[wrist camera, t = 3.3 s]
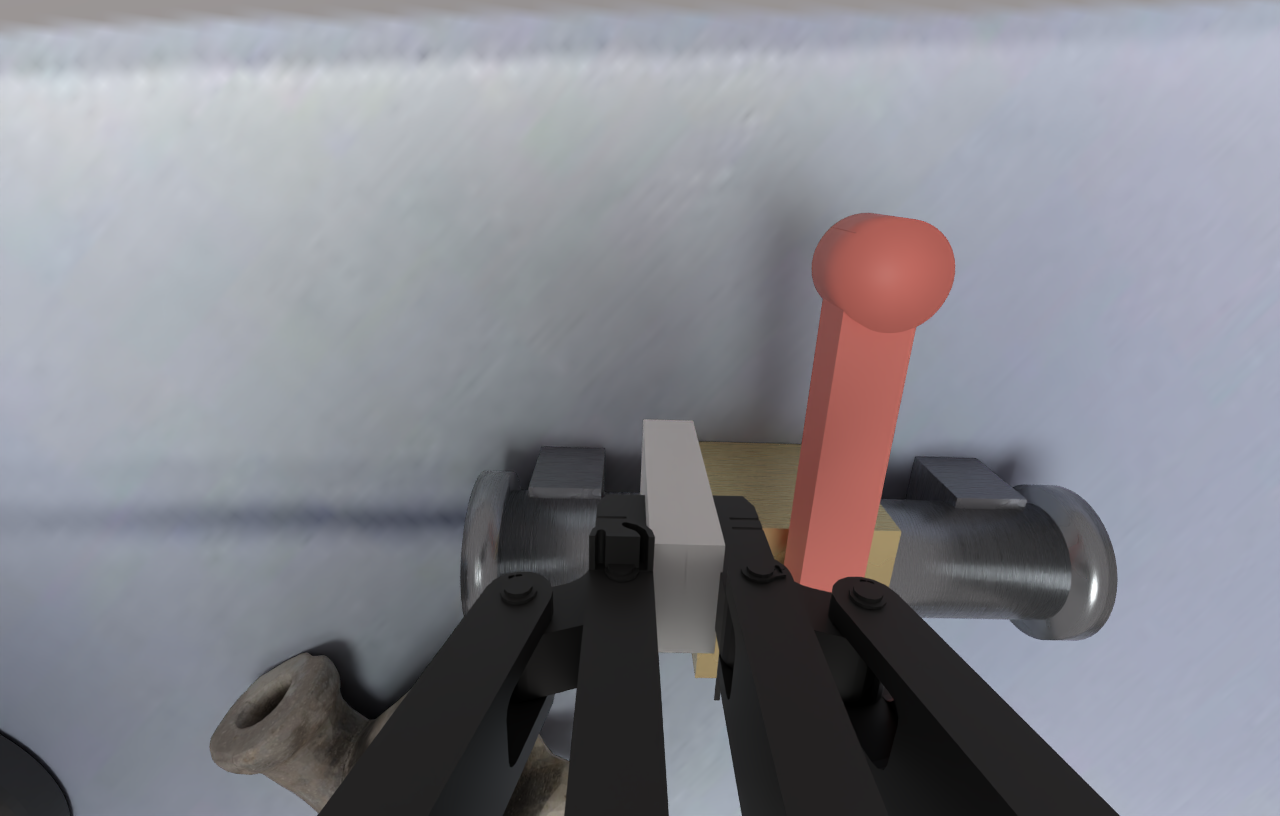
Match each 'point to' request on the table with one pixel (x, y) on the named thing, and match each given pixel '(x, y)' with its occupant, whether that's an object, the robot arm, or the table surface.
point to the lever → (859, 383)
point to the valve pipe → (900, 551)
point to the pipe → (338, 739)
